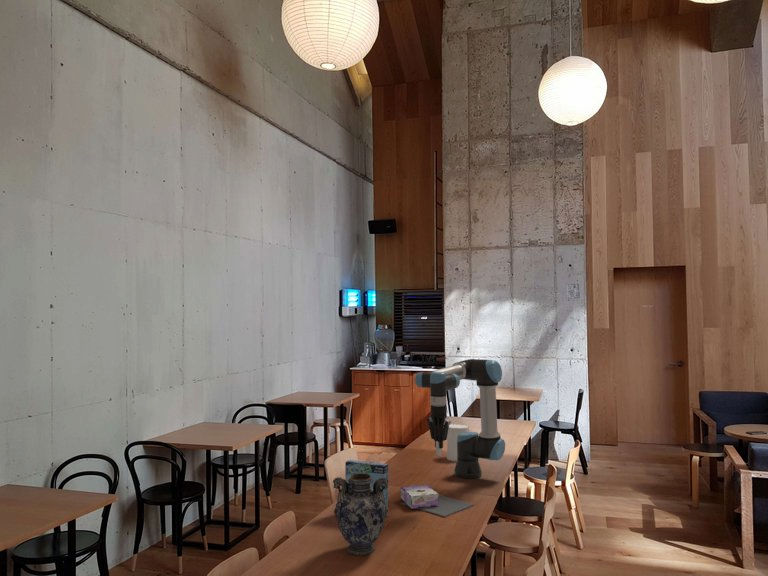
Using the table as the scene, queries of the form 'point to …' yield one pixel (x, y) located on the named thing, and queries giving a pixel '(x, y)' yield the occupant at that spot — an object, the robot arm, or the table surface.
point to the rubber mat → (446, 506)
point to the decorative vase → (360, 511)
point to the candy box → (419, 496)
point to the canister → (454, 439)
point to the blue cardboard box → (367, 468)
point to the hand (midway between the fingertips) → (439, 454)
